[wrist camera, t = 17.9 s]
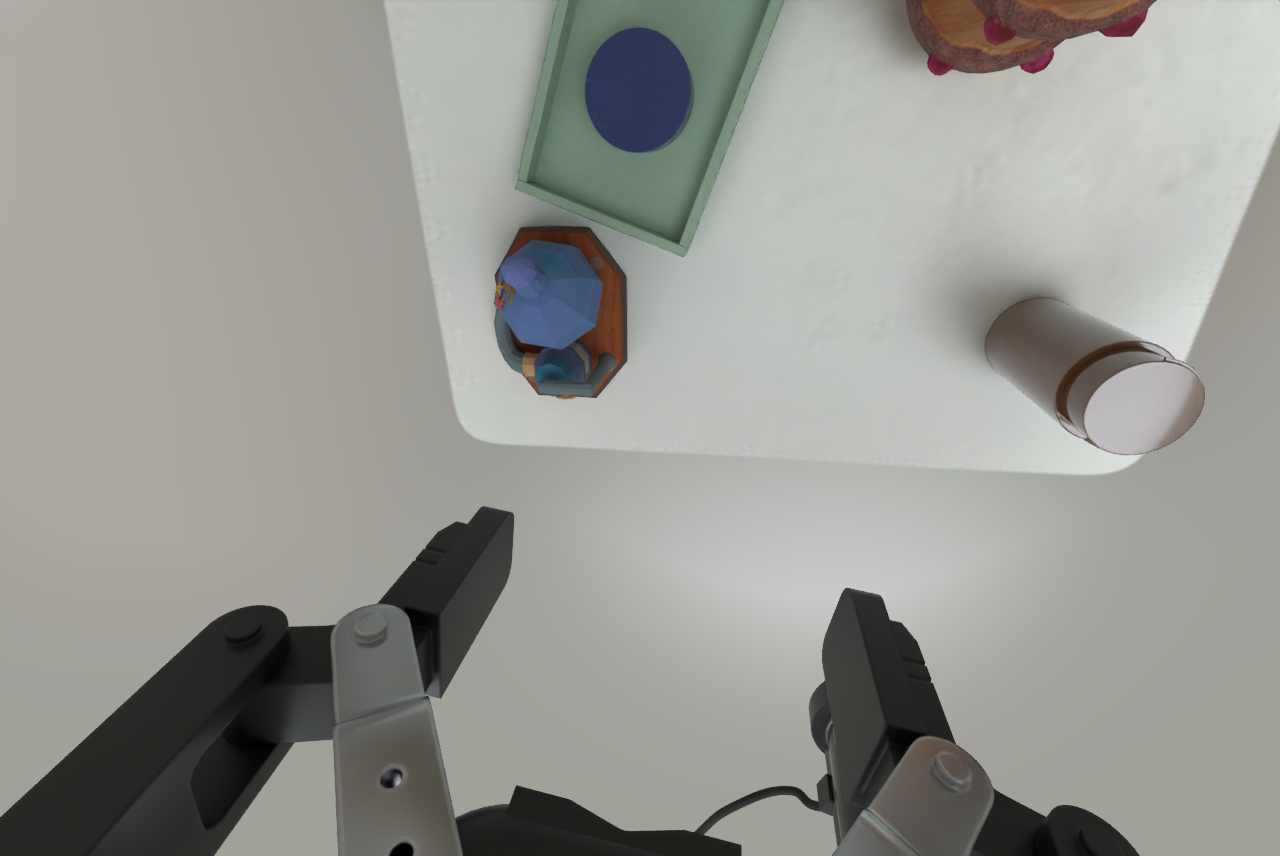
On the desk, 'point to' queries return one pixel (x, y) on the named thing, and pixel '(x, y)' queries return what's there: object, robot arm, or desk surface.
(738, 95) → the tray
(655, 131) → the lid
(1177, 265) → the desk surface
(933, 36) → the mug
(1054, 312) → the jar
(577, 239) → the model
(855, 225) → the desk surface
